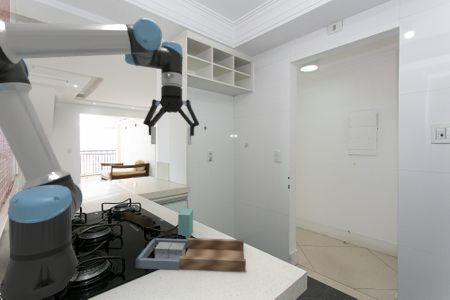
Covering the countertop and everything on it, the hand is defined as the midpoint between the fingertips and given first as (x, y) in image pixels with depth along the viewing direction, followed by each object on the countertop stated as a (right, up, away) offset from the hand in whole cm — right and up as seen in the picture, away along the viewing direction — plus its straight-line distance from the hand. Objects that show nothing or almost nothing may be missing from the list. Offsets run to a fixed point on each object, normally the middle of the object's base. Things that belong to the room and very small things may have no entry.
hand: (171, 144), depth 79 cm
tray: (+2, -35, -15) cm, 38 cm away
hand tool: (-17, -34, +13) cm, 40 cm away
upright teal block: (+5, -35, 0) cm, 35 cm away
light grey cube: (+6, -35, -15) cm, 38 cm away
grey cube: (+1, -35, -15) cm, 38 cm away
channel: (+17, -36, -15) cm, 42 cm away
